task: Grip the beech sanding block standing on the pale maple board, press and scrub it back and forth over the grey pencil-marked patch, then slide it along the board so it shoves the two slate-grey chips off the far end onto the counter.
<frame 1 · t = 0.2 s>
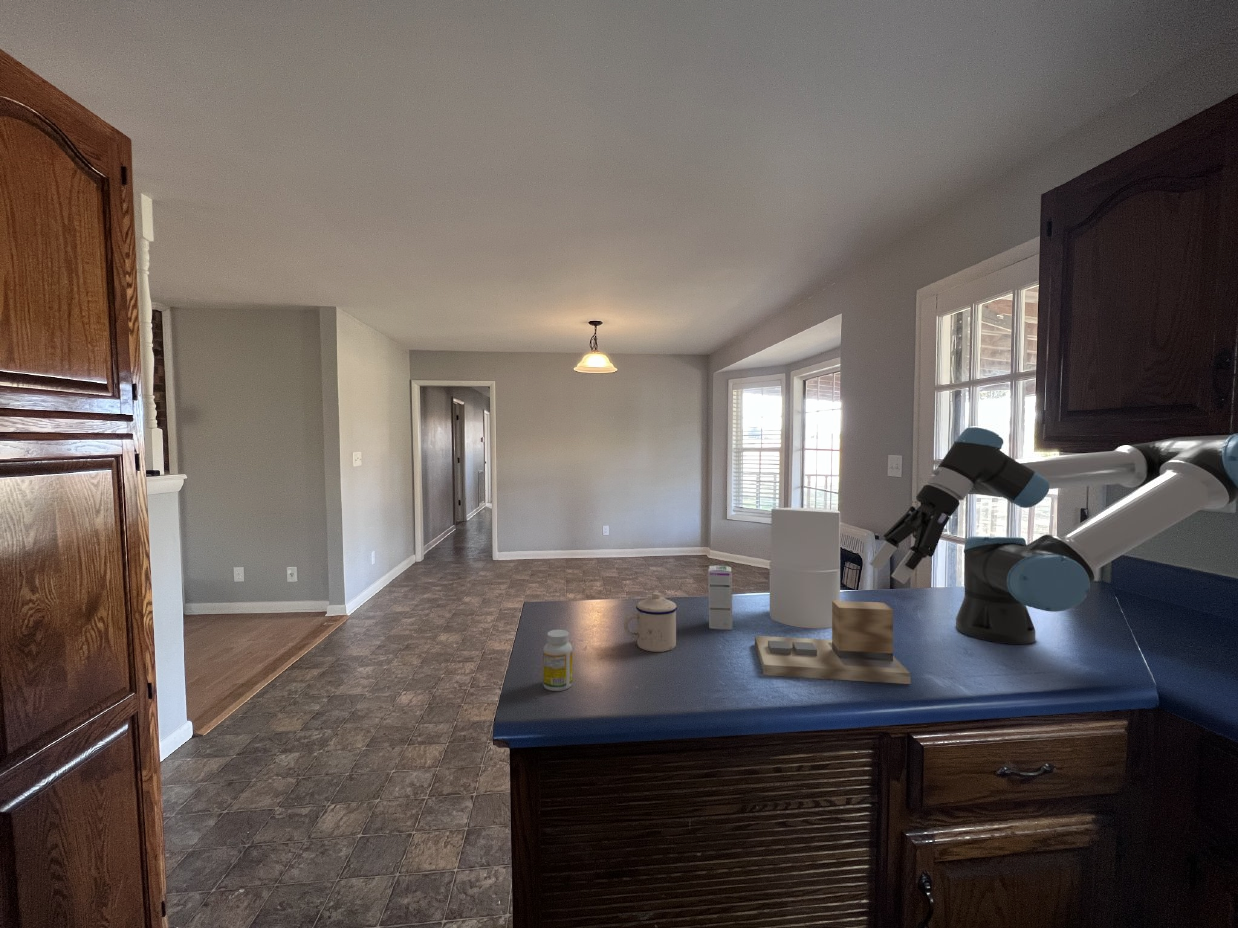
hand: (885, 573, 110), 16 cm above the worktop, tool tilted 35°, fingers open, 13 cm apart
sanding block: (861, 654, 101), point 2 cm above the worktop, touching maple board
teacup with lid: (650, 646, 111), on the worktop
supplement bottle: (557, 686, 92), on the worktop
syrup box: (720, 626, 125), on the worktop
chip 2: (779, 650, 103), point 2 cm above the worktop, touching maple board
cylinder: (804, 618, 131), on the worktop
chip 1: (804, 651, 103), point 2 cm above the worktop, touching maple board
maple board: (825, 662, 102), on the worktop
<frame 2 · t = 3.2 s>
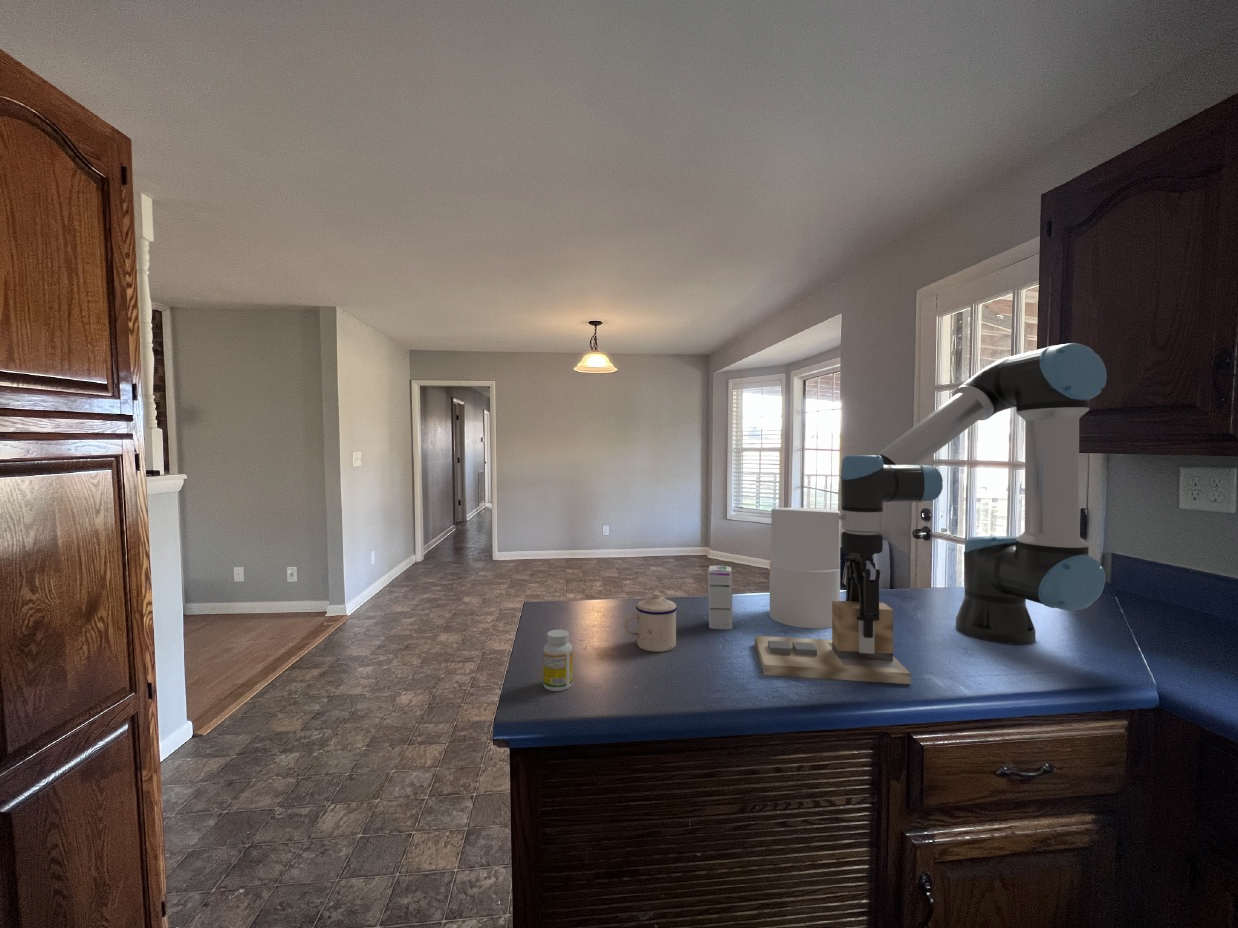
hand: (861, 646, 101), 4 cm above the worktop, tool pointing down, fingers closed on sanding block, 5 cm apart
sanding block: (861, 654, 101), point 2 cm above the worktop, touching gripper, maple board
everything else where it was.
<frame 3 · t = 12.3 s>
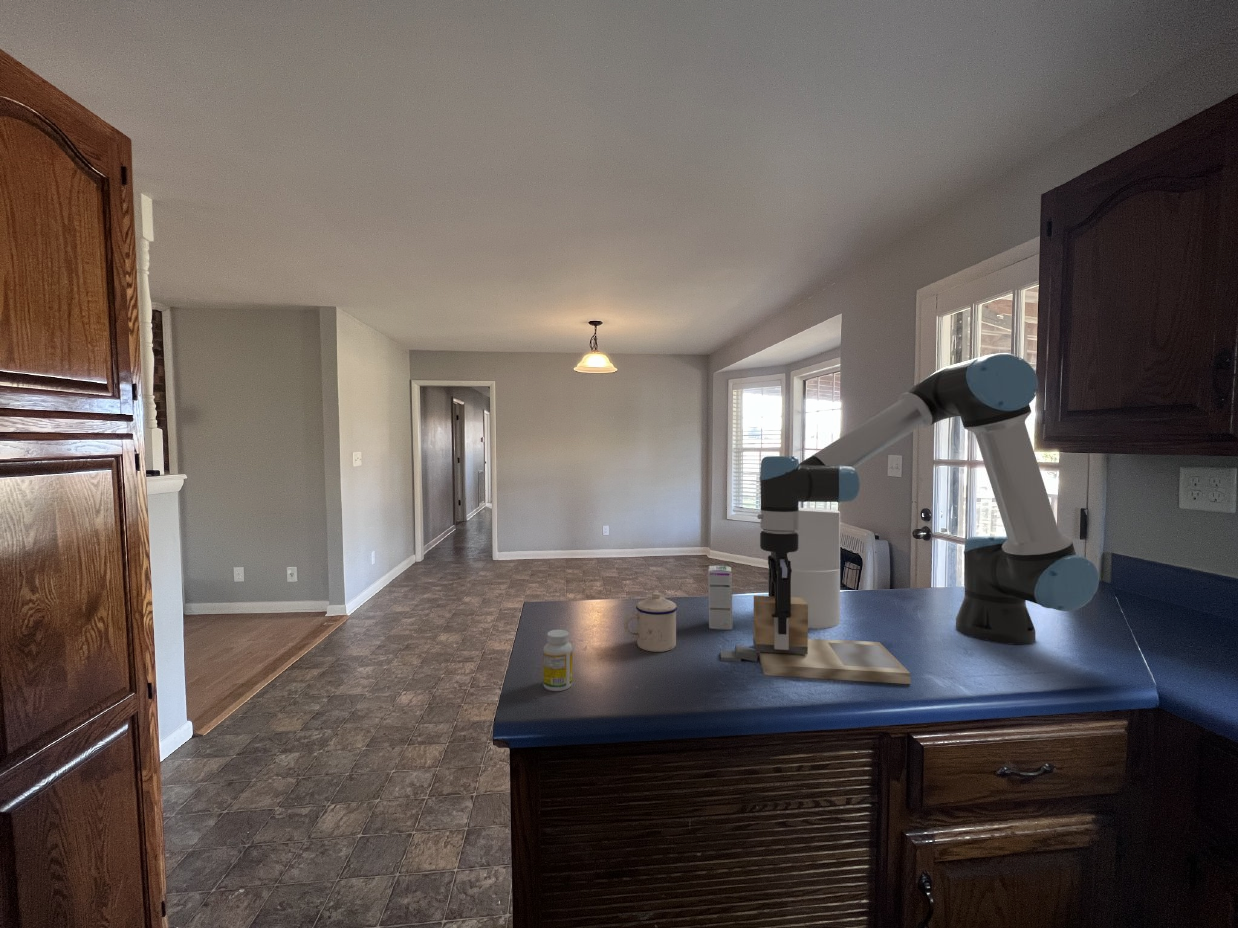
hand: (778, 643, 103), 3 cm above the worktop, tool pointing down, fingers closed on sanding block, 5 cm apart
sanding block: (779, 648, 103), point 2 cm above the worktop, touching gripper
chip 2: (730, 654, 105), point 1 cm above the worktop, tilted 179°, touching chip 1
chip 1: (745, 655, 104), on the worktop, tilted 11°, touching chip 2
everything else where it was.
when the fingers open (3 cm above the worktop, at t = 14.1 s): sanding block stays where it is, resting on maple board.
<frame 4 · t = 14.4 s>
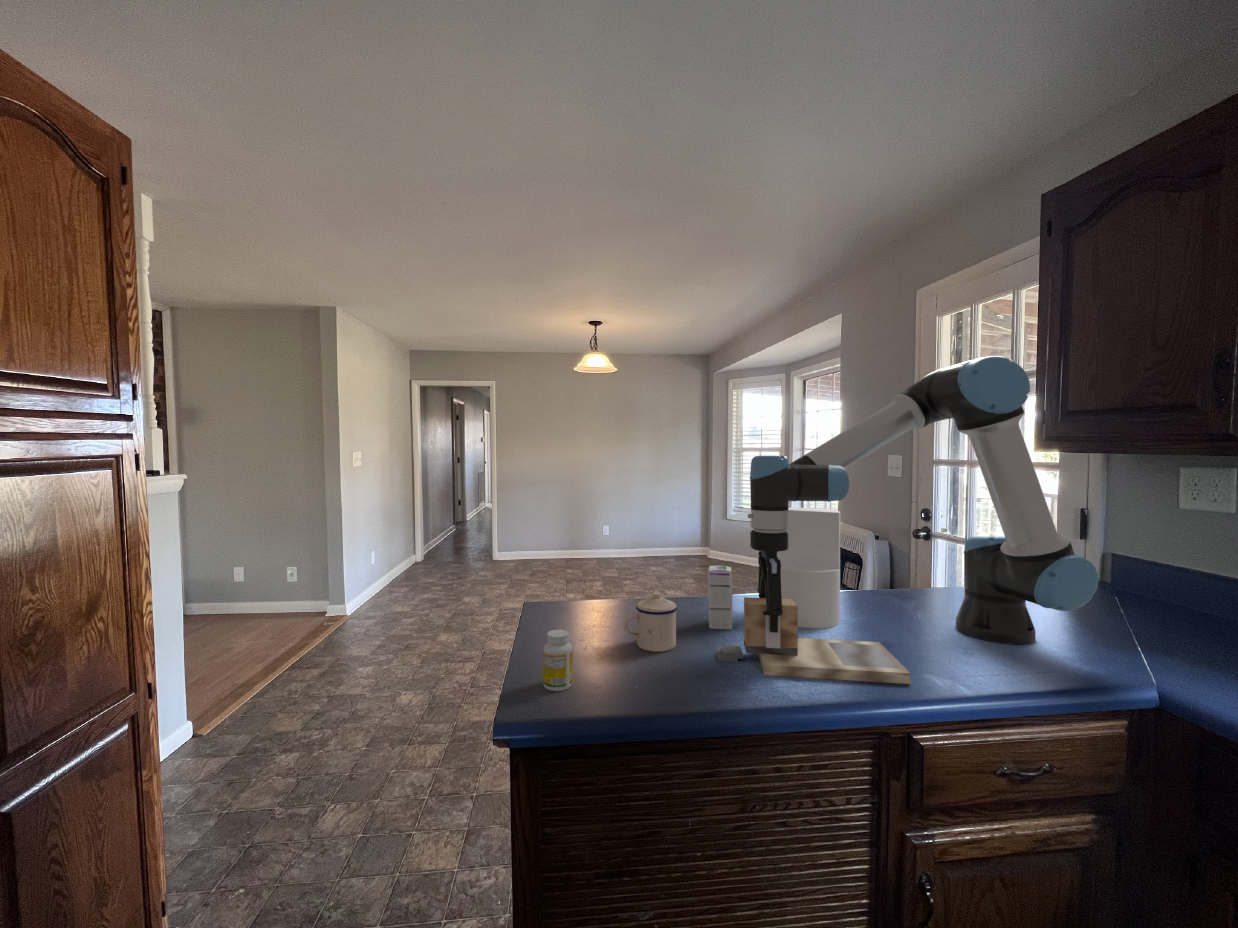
hand: (769, 638, 104), 4 cm above the worktop, tool pointing down, fingers open, 9 cm apart
sanding block: (769, 649, 104), point 2 cm above the worktop, touching maple board
chip 1: (731, 654, 105), on the worktop, touching chip 2
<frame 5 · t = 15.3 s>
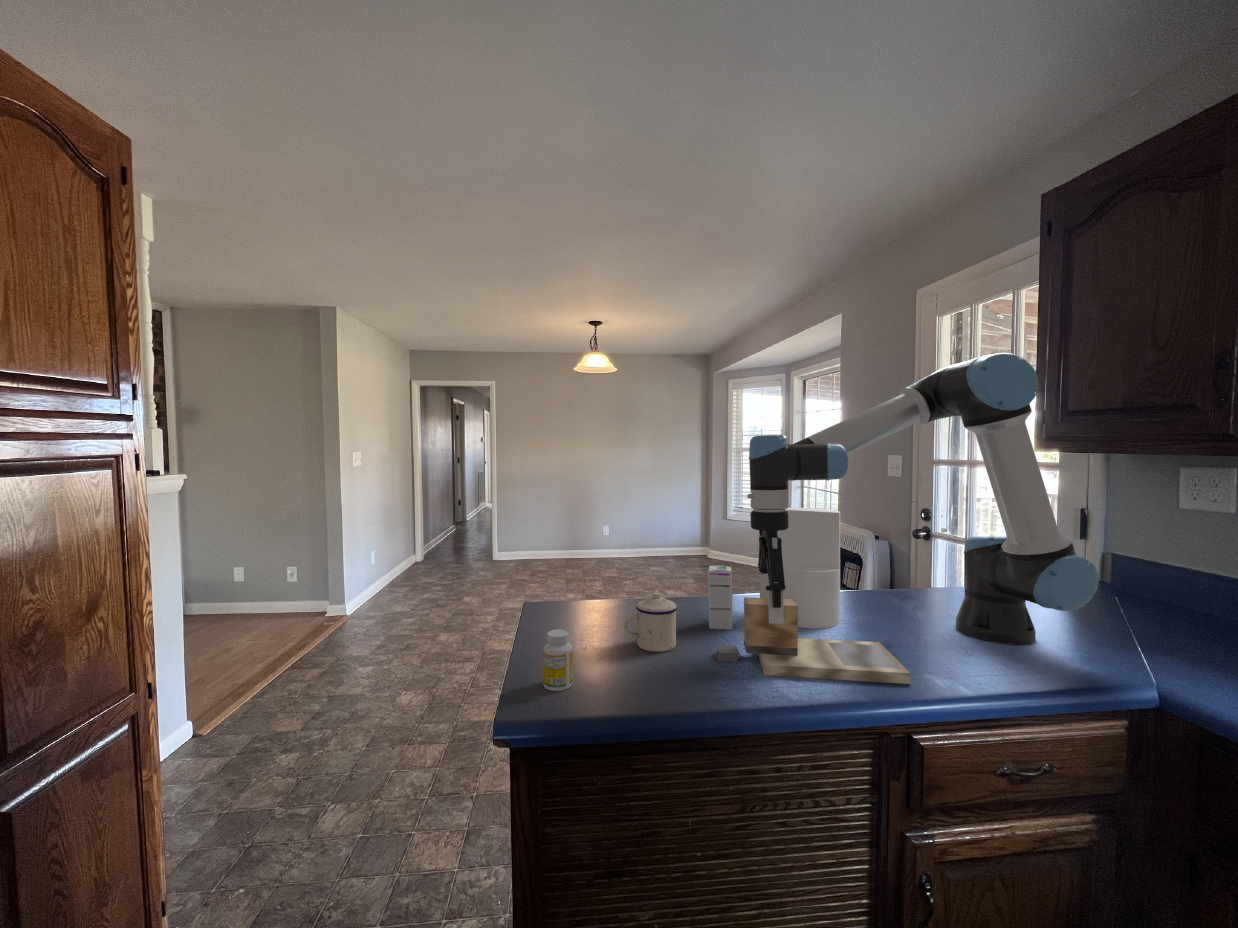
hand: (771, 612, 104), 10 cm above the worktop, tool pointing down, fingers open, 13 cm apart
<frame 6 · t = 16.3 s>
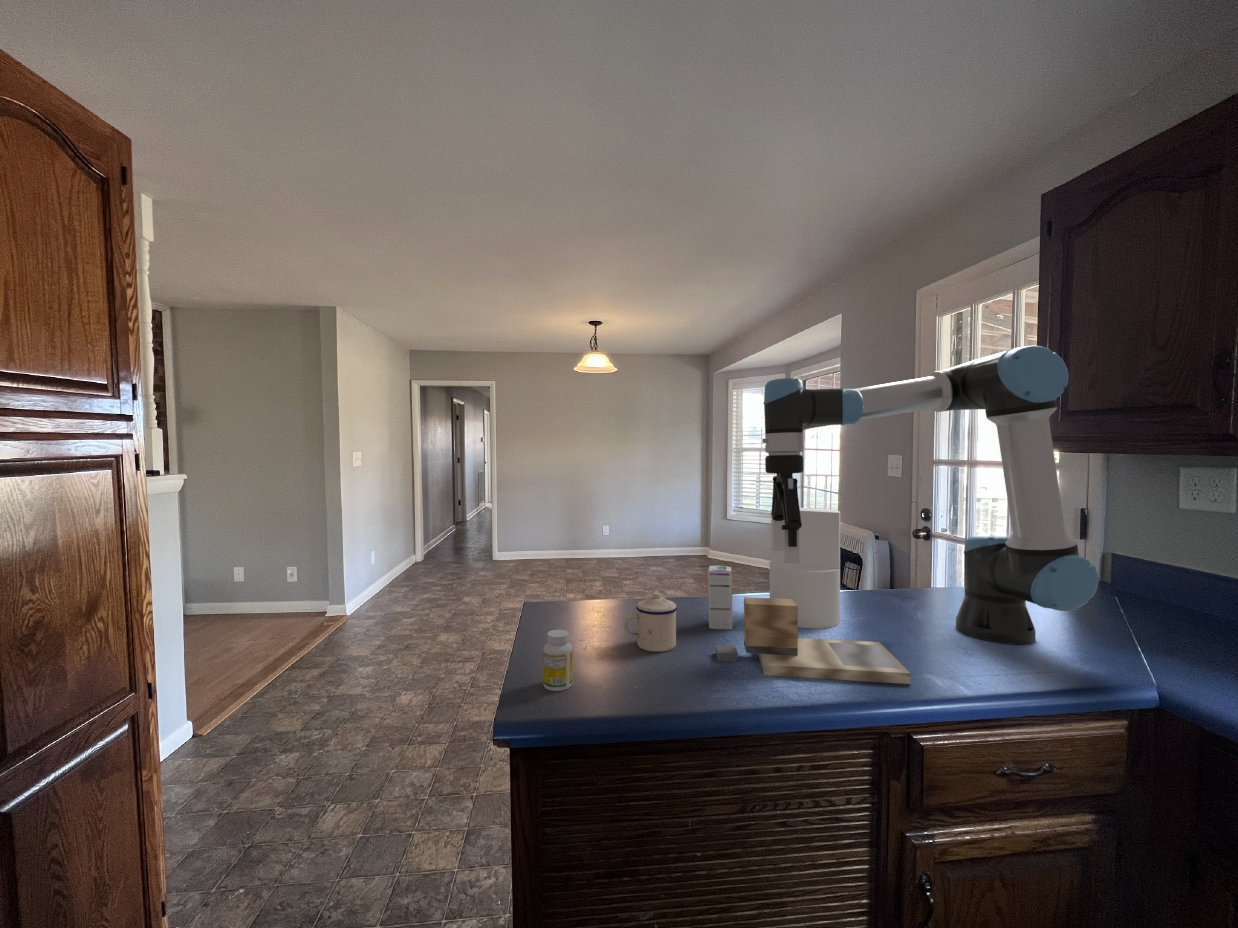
hand: (785, 556, 104), 21 cm above the worktop, tool pointing down, fingers open, 13 cm apart
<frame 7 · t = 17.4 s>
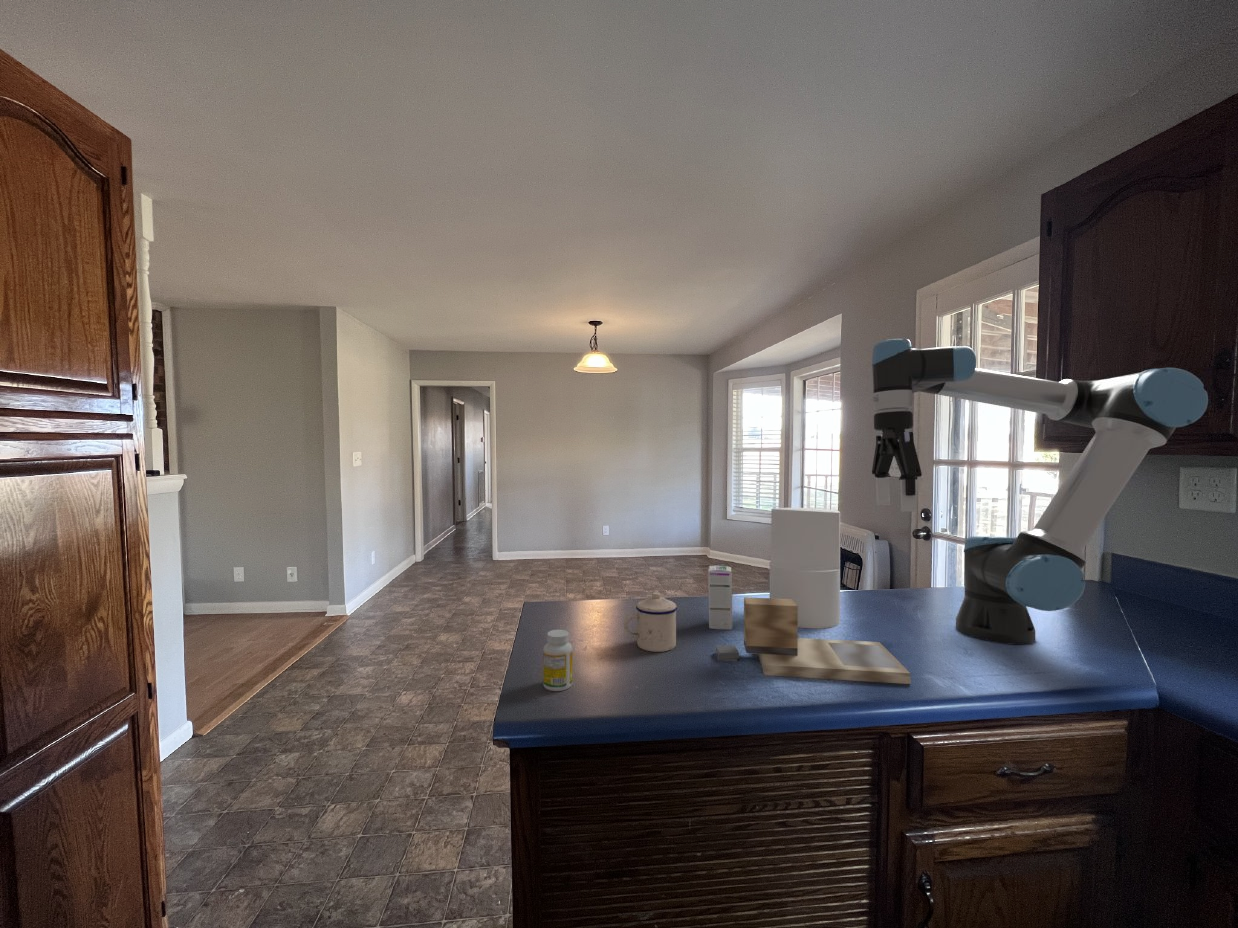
hand: (895, 508, 110), 31 cm above the worktop, tool pointing down, fingers open, 13 cm apart
nothing on the worktop moved.
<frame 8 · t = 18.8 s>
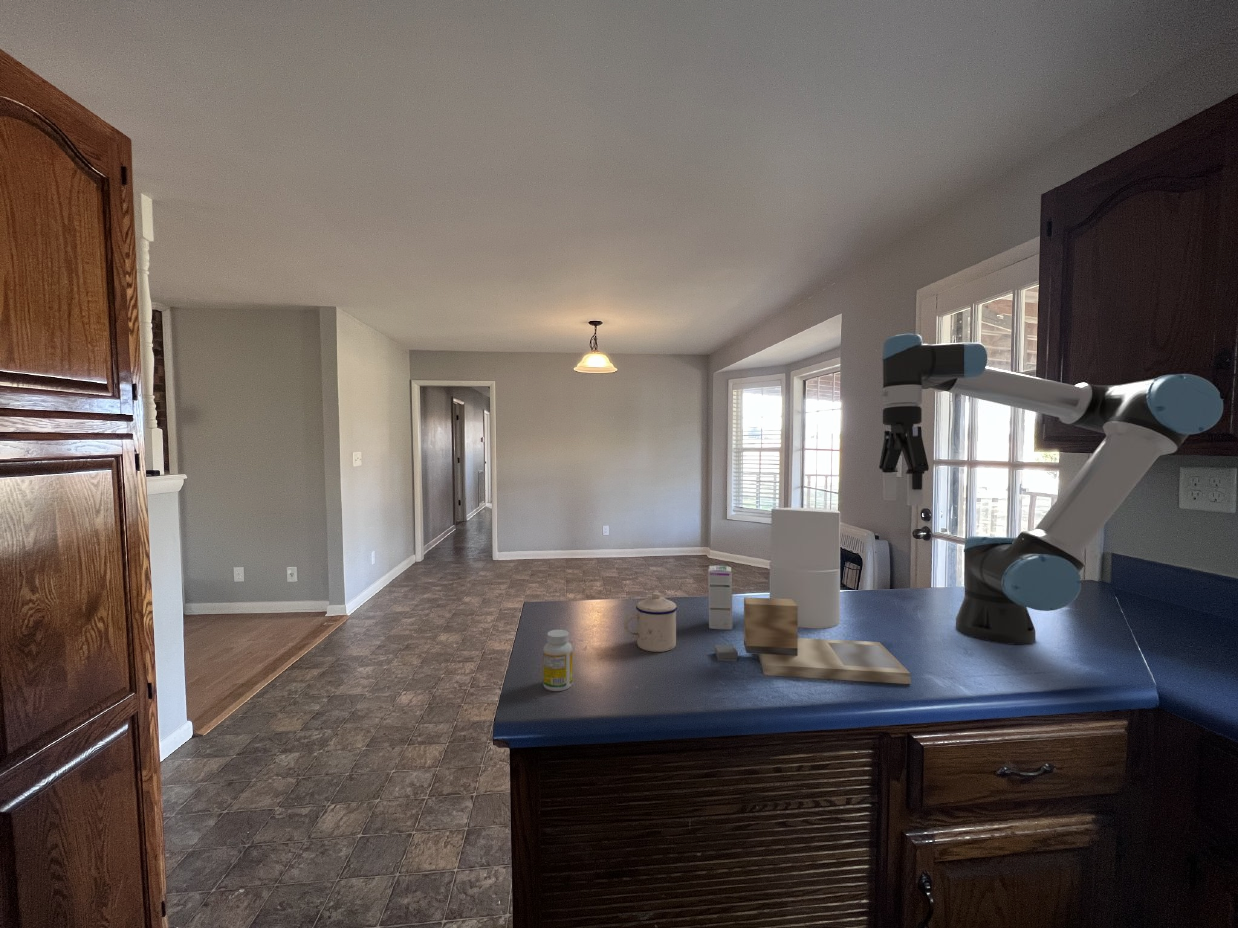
hand: (901, 502, 111), 32 cm above the worktop, tool pointing down, fingers open, 13 cm apart
at the end: chip 1 inside the target area (2.5 cm from its centre), on the worktop; chip 2 inside the target area (2.7 cm from its centre), on the worktop; sanding block touching maple board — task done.
